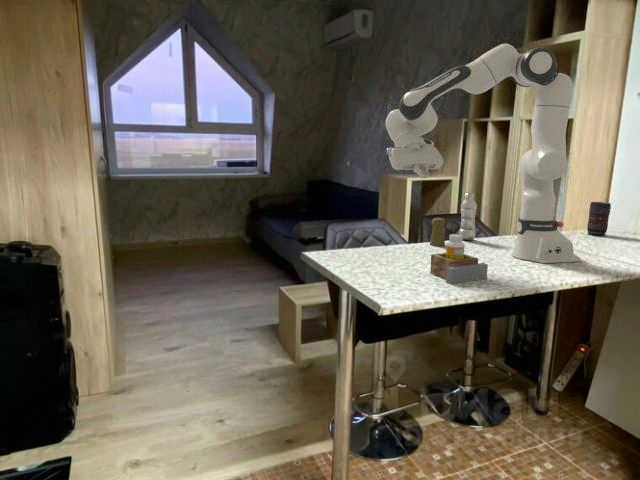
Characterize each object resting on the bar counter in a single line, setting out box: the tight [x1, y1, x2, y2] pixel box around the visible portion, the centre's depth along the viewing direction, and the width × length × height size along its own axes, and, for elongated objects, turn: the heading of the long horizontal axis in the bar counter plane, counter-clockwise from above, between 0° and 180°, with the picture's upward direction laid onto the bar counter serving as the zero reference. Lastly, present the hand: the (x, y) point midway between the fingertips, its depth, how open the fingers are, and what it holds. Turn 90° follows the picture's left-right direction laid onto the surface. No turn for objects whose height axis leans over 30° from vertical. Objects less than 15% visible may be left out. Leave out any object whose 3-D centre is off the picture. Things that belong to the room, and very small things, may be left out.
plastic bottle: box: [458, 192, 478, 241], centre depth 198 cm, size 6×7×20 cm
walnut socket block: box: [429, 252, 479, 280], centre depth 146 cm, size 10×10×6 cm
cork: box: [429, 217, 446, 247], centre depth 189 cm, size 6×6×11 cm
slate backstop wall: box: [445, 262, 489, 285], centre depth 141 cm, size 2×14×4 cm, turn 115°
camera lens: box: [586, 201, 612, 237], centre depth 211 cm, size 8×8×15 cm
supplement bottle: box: [445, 233, 466, 260], centre depth 145 cm, size 5×5×10 cm
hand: (425, 176), depth 160 cm, fingers closed
